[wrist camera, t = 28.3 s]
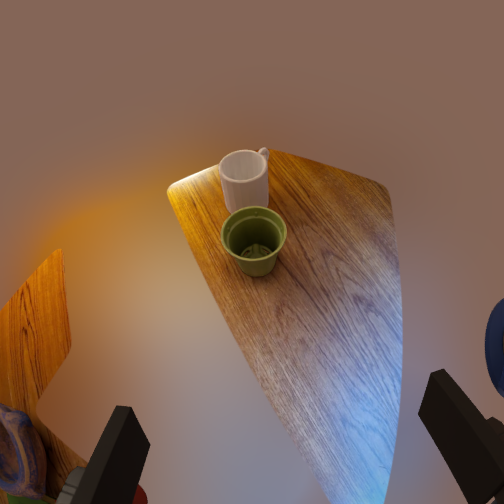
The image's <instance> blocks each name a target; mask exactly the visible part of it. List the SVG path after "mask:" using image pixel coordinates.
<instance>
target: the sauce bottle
mask: <svg viewBox="0 0 504 504" xmlns="http://www.w3.org/2000/svg"><path fill="white" fill-rule="evenodd" d="M147 503H148V500H147V496H146V493H145V492H144V490H143V489H142V488H141V486H140V485H139V484H138V486H137V490H136V493H135V496H134V500H133V503H132V504H147Z"/></svg>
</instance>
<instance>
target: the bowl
mask: <svg viewBox="0 0 504 504" xmlns="http://www.w3.org/2000/svg"><path fill="white" fill-rule="evenodd" d="M46 472H47V460H46V453H45V449H44V446H43V443H42V441H41V438H40V436H39V434H38V432H37V431H36V429H35V428H34V426H33V425H32V422H31V420H30V418H29V416H28V415H26V414H25V413H24V412H22V411H17V410H15V409H14V408H11V407H9V406H5V405H4V404H1V403H0V488H1V489H2V490H3V491H5V492H6V493H8V494H10V495H13V496H18V497H27V498H30V499H32V500H40V499H42V498H43V497H44V495H45V493H46Z"/></svg>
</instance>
